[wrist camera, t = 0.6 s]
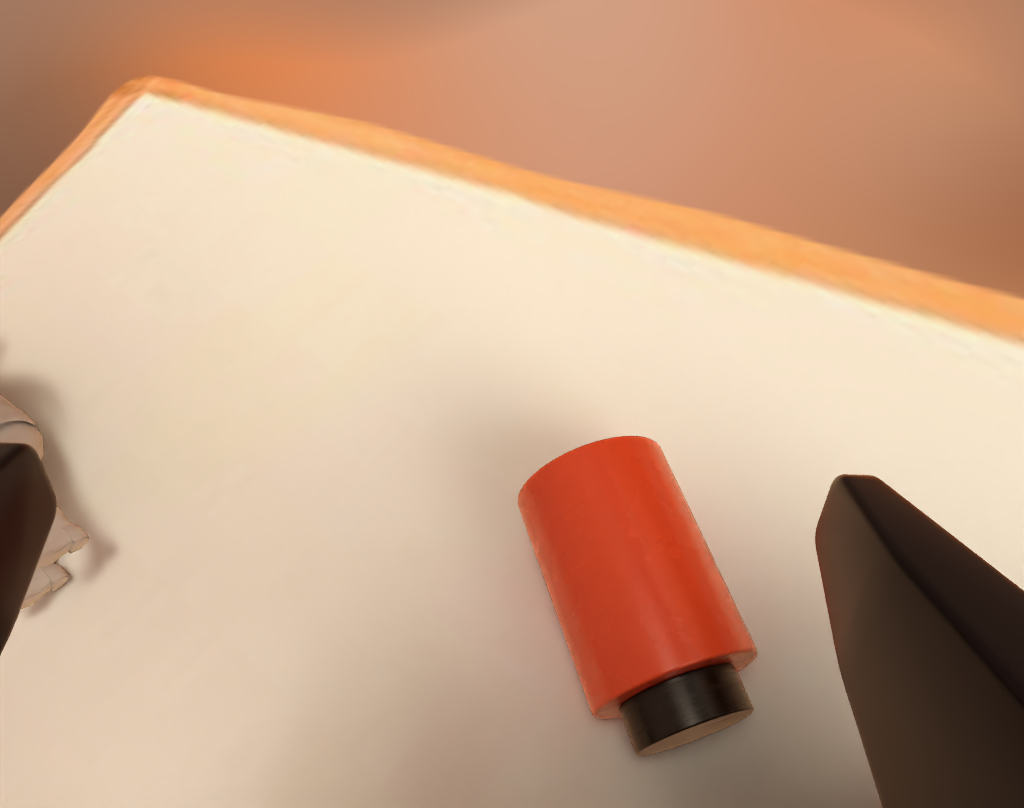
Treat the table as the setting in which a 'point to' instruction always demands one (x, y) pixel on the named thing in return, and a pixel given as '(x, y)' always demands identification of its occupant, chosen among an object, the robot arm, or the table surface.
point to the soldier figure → (17, 427)
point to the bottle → (638, 593)
